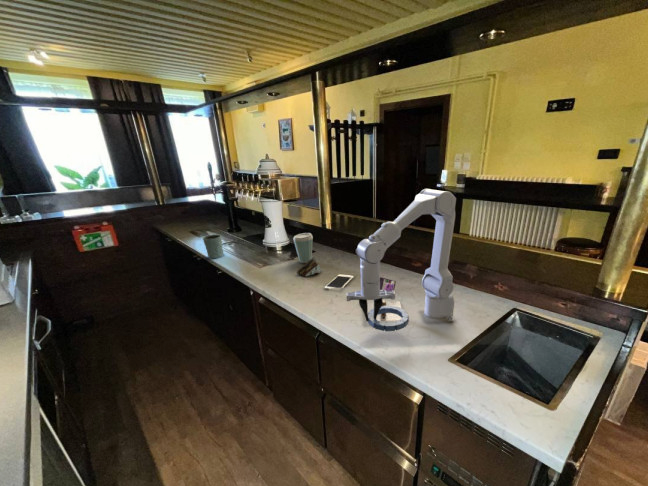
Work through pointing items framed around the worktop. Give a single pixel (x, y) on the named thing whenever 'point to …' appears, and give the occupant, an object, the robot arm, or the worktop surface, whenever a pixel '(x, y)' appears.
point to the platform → (385, 315)
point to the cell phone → (339, 281)
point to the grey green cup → (213, 246)
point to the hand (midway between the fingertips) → (370, 319)
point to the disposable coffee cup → (304, 246)
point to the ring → (389, 326)
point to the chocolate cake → (309, 268)
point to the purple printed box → (388, 286)
